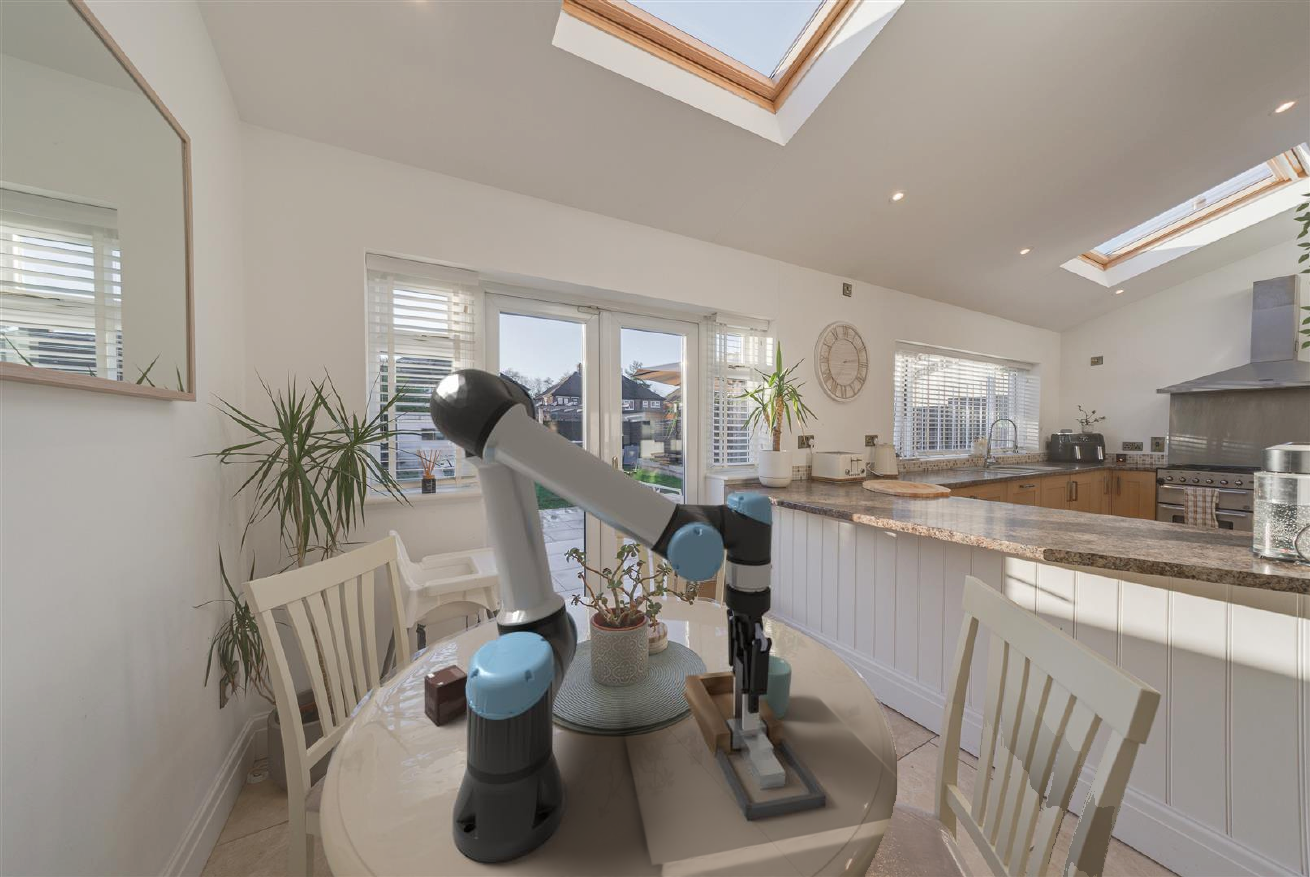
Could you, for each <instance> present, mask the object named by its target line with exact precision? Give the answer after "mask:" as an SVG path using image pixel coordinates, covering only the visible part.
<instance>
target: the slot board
mask: <svg viewBox="0 0 1310 877" xmlns="http://www.w3.org/2000/svg"><path fill="white" fill-rule="evenodd" d="M734 677H735V675H733V672H732V670H730V671H720V672H711V673H709V672H708V673H701V674H700V673H699V674H692V675H686V676H685V692H683V696H684V697H685V700H686V703H687V704H688V707H689V709H690V711H691V713H692V715H693V717H694V719H695V722H696V724H697V726H698V727H699V730H700V732H701V735H702V736H703V738H704V740H705V743H706V745H707V747H708V748H709V749H708V750H709V751H710V754H711V755H712V757H717V749H719V748H722V750H723V752H724V754H725V756H726V755H733V754H737V753H740V748H738V749H732V747H731V745H730V731H729V729H728V728H727V726H726V721H727V720H729V719H735V716H734V714H733V711H734ZM759 717H760V718H761V720H762V721H763V722H764V724H765V725H766V727H767V729H766V737H767V738H768V740H769V741H770V743H771V744H772V746H773V748H780V740H781V739H784V737H783V736H784V725H783V723H782V722H781V720H779V719H780V718H777V717H776V716H775V714H774V713H773V712H772V710H771V709H770V708H769V706H768V705H767V704H766V702H765V701H764V700H762V699H759ZM740 754H741V753H740Z"/></svg>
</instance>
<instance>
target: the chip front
mask: <svg viewBox="0 0 1310 877" xmlns="http://www.w3.org/2000/svg"><path fill="white" fill-rule="evenodd" d="M748 770H749V771H750V773H751V775H752V777H753V778H754V781H755V782H756V784H757V786H758V787H759V789H760V790H766V789H771V788H777V787H783V786H786V771H785V769H784V768H783V766H782V764H780V762H779V760H778V759H777V758H776V756H775V753H774V752H773V753H771V754H764V755H758V756H751V757H750V759H749V767H748Z"/></svg>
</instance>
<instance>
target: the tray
mask: <svg viewBox="0 0 1310 877" xmlns="http://www.w3.org/2000/svg"><path fill="white" fill-rule="evenodd" d="M779 750H780V751H781V753H782V754H783V756H784V757H785V758H786V760H787V761H788V763H789V764H790V766H791V767H792V768H793V770H794V772H795V773H796V775H797V776H798V777H799V778H800V780H801V782H802V783H803V784H804V786H805V787H806V789H807V790H808V791H809V792H808V793H805V794H800V795H795V796H794V795H793V796H788V797H783V798H782V797H781V798H776V799H771V800H766V801H760V802H755V803H750V801H749V799H748V797H747V795H746V793H745V791H744V789H743V787H742V785H741V783H740V781H739V780H738V778H737V776H736V774H735V771H734V769H733V768H732V766H731V764H730V762H729V760H728V758H727V756H726V755H725V754H724V752H723V750H722V748H719V749H717V756H716V759H717V761H718V763H719V766H720V767H721V770H722V772H723V774H724V776H725V778H726V780H727V782H728V784H729V786H730V788H731V790H732V793H733V795H734V796H735V799H736V801H737V802H738V805H739V807H740V809H741V811H742V813H743V816H744V817H745V820H746V821H747V822H748V821H754V820H755V821H756V820H759V819H765V818H769V817H775V816H776V817H777V816H780V815H787V814H791V813H792V814H793V813H798V812H803V811H809V810H814V809H820V808H824V807H826V806H827V805H826V801H827V798H826V797H827V796H826V794H825V793H824V791H823V790H822V789H821V787H820V785H818V783H817V781H816V780H815V779H814V777H813V776H812V775H811V773H810V772H809V770H808V769H807V768H806V767H805V765H804V764H803V763H802V761H801V760H800V759H799V757H798V756H797V754H796V753H795V752H794V750H793V749H792V747H791V746H790V744H788V741H786V739H785V738H783V739H781V740H780V747H779Z"/></svg>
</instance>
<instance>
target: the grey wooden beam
mask: <svg viewBox="0 0 1310 877" xmlns="http://www.w3.org/2000/svg"><path fill="white" fill-rule="evenodd" d="M742 688H745V670H744V655H740V656H736V672H735V719H729V720H727V721H726V726H727V728H728V729H729V731H730V745H731V747H732V749H738V748H740V734H742V733H749V732H756V731H763V732H764V734H765V735H766V729H767V727H766V725H765V724H764V722H763V721H762V720H761V718H760V717H759V729H753V730H746V731H744V730H743V729H742V699H743V694H742V691H741V689H742Z"/></svg>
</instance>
